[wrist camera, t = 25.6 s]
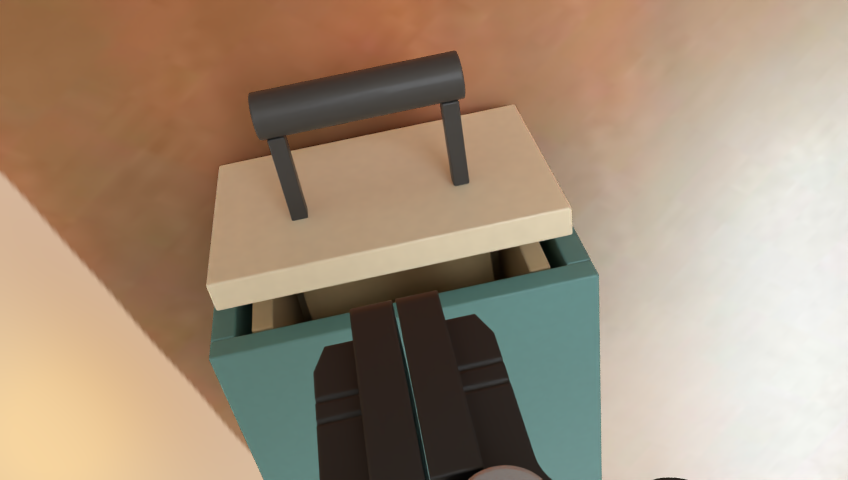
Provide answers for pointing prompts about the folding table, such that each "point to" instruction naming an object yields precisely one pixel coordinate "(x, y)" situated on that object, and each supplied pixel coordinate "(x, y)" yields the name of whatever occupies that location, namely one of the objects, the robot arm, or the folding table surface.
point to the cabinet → (492, 302)
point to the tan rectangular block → (400, 285)
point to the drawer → (377, 191)
